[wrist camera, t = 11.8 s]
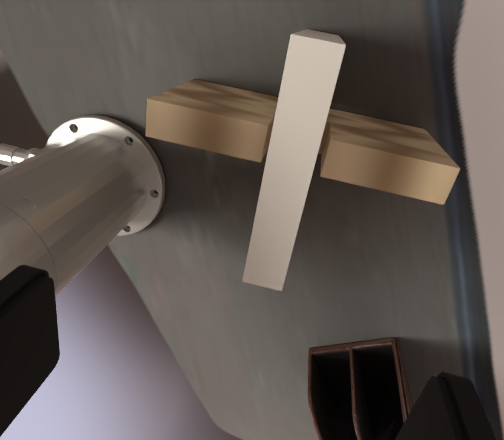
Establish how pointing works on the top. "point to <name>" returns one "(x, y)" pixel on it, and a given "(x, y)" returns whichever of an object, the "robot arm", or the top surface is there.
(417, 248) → the top surface
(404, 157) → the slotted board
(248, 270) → the cream angled block
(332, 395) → the letter holder
